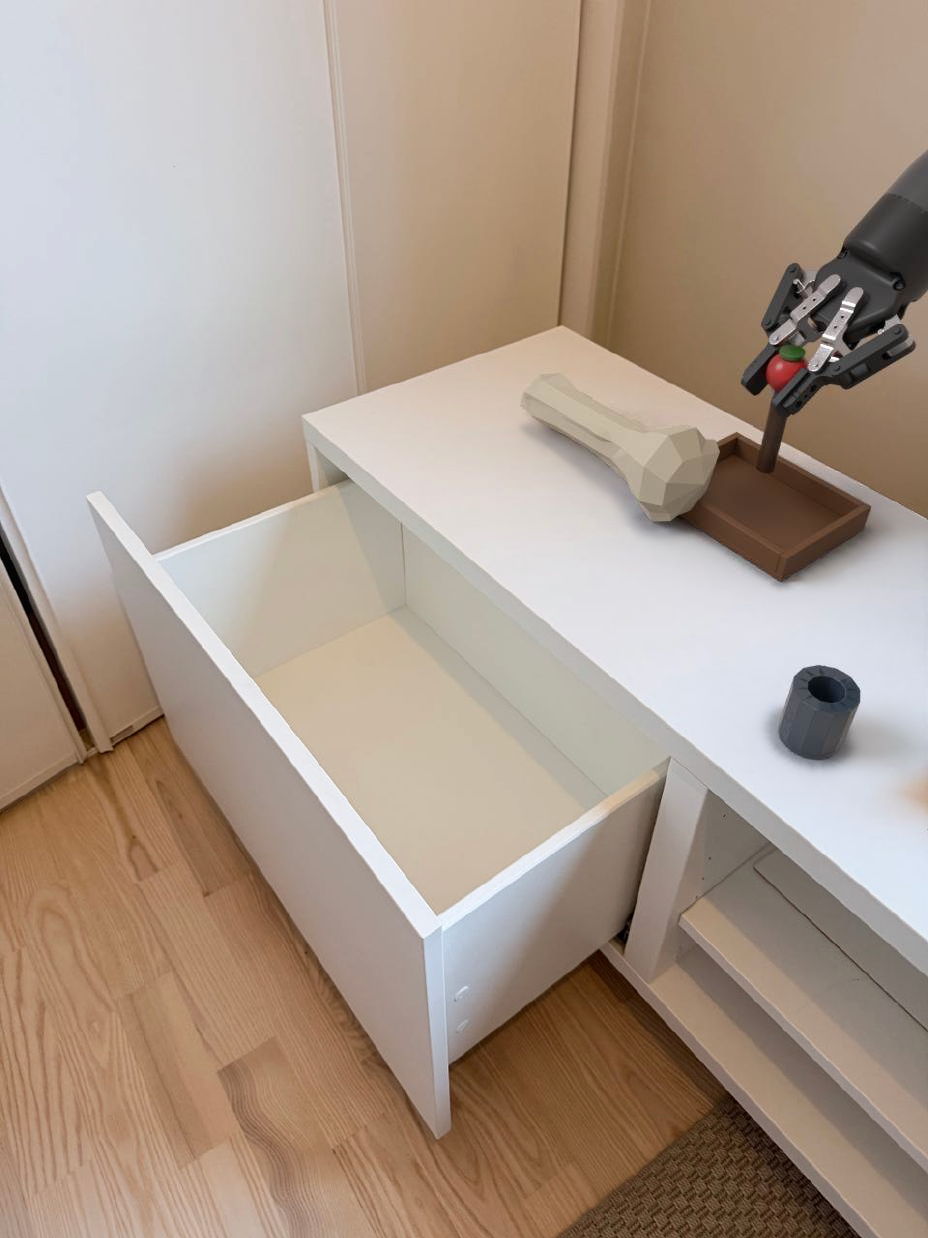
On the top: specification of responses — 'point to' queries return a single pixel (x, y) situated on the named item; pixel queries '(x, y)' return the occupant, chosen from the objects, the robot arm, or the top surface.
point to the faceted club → (629, 446)
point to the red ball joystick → (777, 378)
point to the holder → (818, 712)
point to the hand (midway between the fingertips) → (763, 400)
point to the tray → (774, 510)
